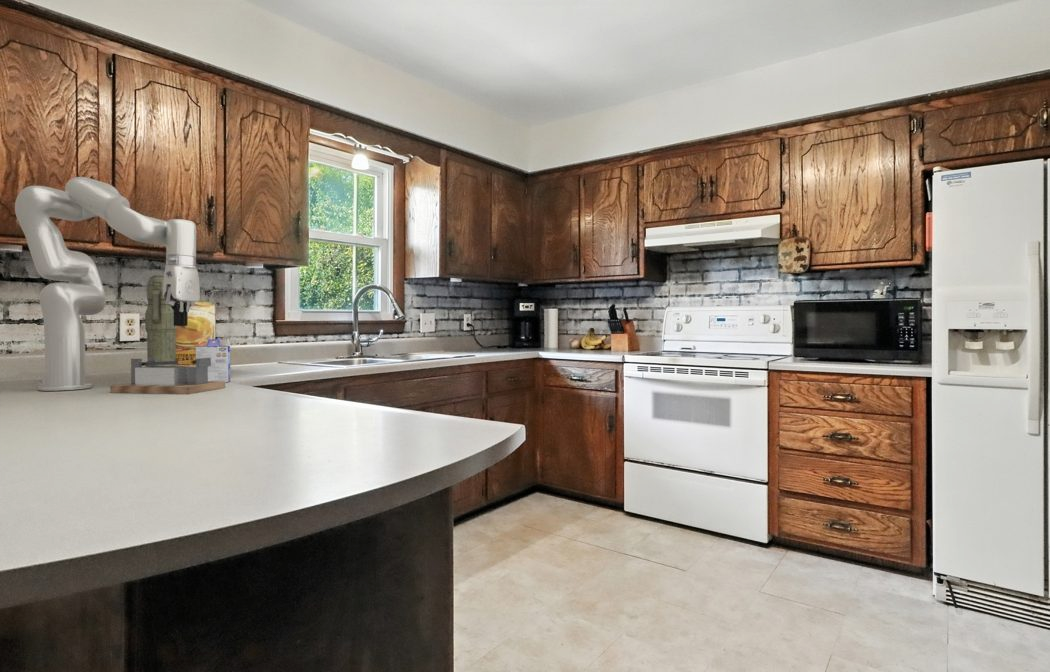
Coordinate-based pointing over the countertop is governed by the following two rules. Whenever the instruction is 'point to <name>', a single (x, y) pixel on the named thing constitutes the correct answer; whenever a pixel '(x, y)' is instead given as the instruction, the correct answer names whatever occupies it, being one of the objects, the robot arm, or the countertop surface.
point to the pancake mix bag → (196, 331)
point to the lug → (199, 371)
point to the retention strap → (169, 362)
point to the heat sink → (162, 375)
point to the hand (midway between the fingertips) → (180, 325)
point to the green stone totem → (159, 323)
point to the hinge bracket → (139, 365)
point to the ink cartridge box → (216, 360)
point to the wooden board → (167, 388)
